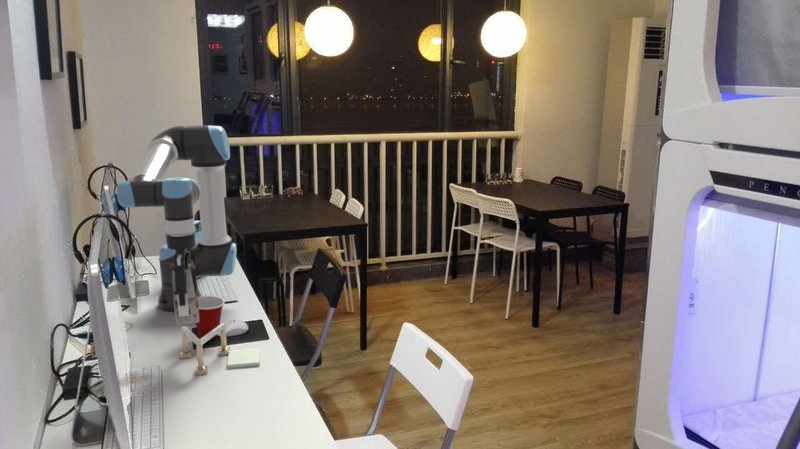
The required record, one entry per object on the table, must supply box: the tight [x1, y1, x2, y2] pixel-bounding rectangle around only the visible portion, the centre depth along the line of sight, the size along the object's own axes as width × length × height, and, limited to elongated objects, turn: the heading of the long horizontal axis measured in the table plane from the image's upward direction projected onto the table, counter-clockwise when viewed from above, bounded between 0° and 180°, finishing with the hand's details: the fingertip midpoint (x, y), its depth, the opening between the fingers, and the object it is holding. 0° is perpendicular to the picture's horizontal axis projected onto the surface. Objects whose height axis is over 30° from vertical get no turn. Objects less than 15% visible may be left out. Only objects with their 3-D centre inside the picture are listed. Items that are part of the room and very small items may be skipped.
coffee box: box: [171, 260, 199, 326], centre depth 181 cm, size 9×6×16 cm
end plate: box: [226, 347, 261, 369], centre depth 187 cm, size 10×9×1 cm
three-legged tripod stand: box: [179, 322, 231, 376], centre depth 183 cm, size 15×14×9 cm
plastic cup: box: [195, 295, 225, 340], centre depth 202 cm, size 11×11×12 cm
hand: (186, 309), depth 182 cm, fingers closed on coffee box, 10 cm apart
